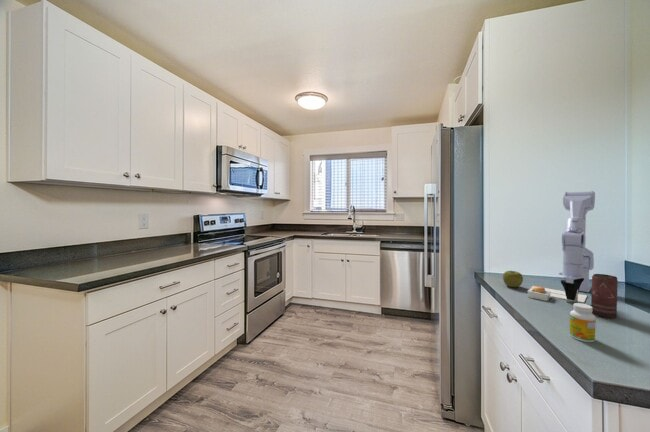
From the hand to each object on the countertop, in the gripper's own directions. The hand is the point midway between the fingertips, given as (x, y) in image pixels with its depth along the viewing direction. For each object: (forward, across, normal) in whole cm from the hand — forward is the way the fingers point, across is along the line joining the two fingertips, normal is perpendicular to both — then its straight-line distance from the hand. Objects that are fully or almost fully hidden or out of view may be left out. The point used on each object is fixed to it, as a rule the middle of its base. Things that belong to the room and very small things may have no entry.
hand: (572, 297), depth 103 cm
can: (+2, +7, +9) cm, 12 cm away
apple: (+2, -7, -21) cm, 23 cm away
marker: (+2, 0, 0) cm, 2 cm away
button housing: (+2, +1, -10) cm, 10 cm away
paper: (+2, -8, -6) cm, 11 cm away
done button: (+1, +1, -10) cm, 10 cm away
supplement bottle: (+2, +33, +6) cm, 34 cm away
